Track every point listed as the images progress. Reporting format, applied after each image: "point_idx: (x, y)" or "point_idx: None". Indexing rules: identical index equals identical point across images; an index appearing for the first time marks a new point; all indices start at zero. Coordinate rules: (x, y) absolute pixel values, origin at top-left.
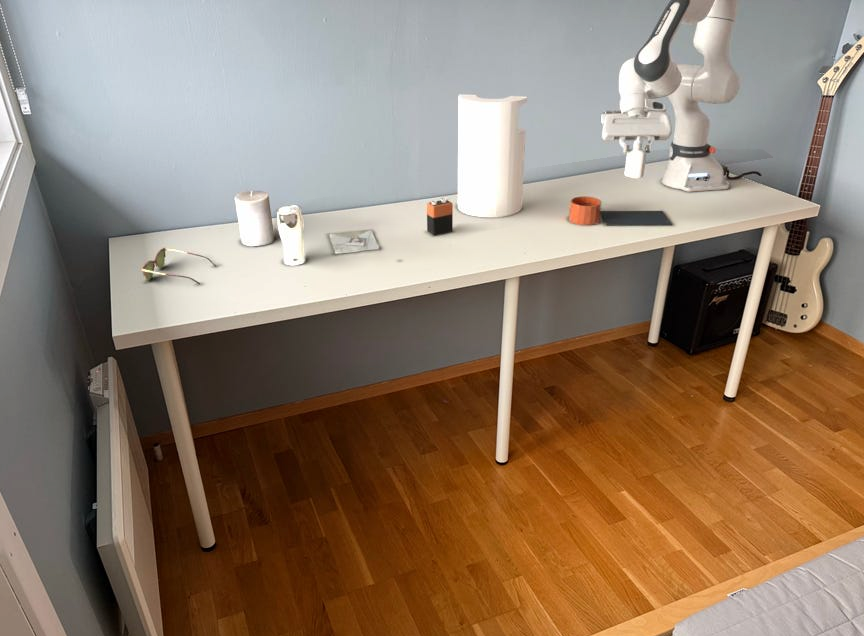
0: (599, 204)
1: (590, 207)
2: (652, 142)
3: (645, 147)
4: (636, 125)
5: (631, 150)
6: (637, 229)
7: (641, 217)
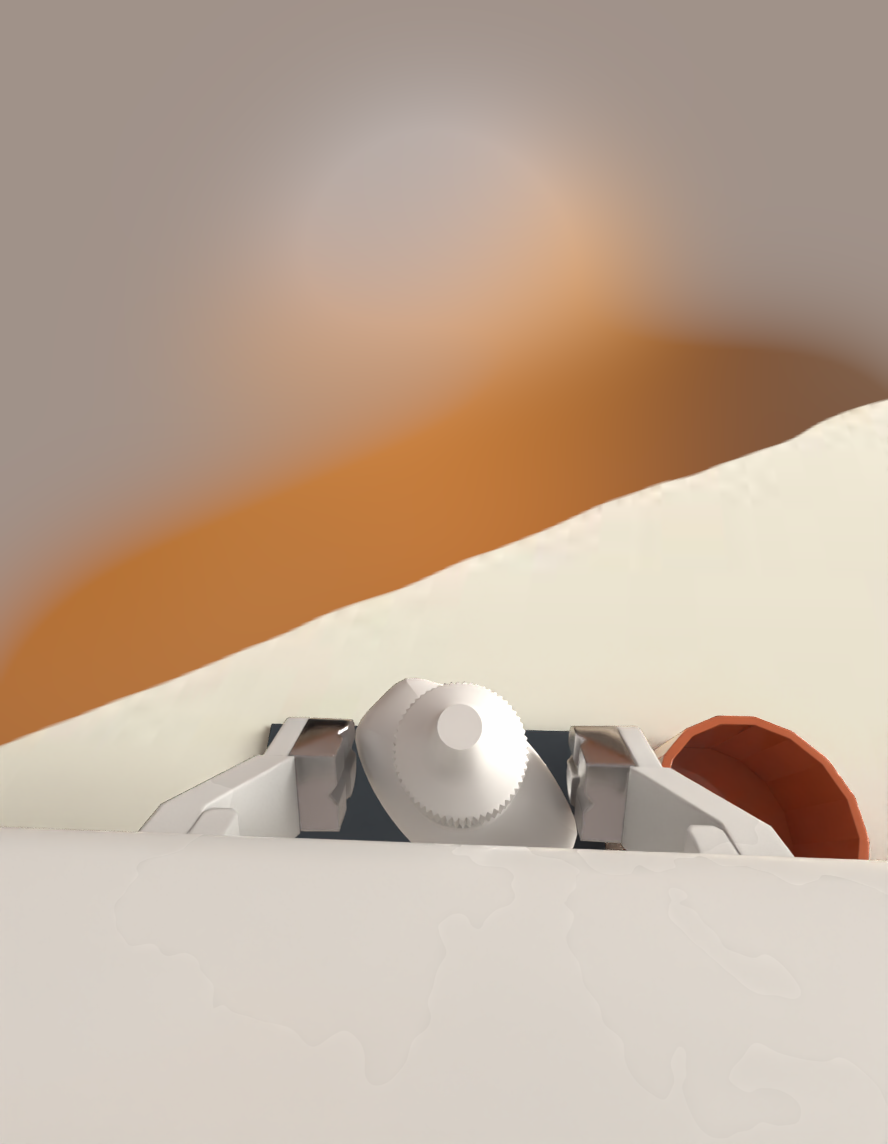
0: (668, 750)
1: (719, 716)
2: (222, 777)
3: (338, 795)
4: (485, 1098)
5: (539, 766)
6: (449, 681)
7: (389, 833)
